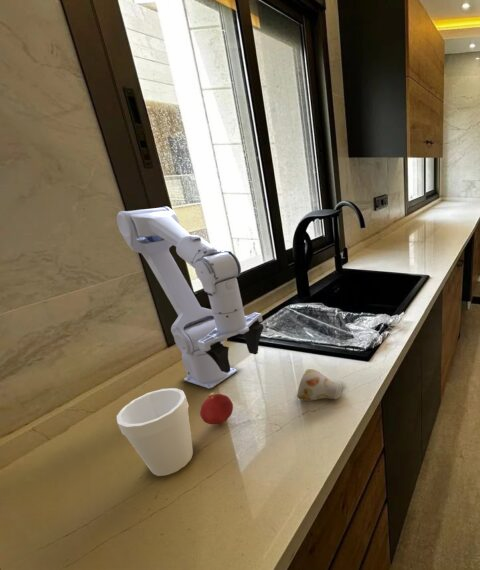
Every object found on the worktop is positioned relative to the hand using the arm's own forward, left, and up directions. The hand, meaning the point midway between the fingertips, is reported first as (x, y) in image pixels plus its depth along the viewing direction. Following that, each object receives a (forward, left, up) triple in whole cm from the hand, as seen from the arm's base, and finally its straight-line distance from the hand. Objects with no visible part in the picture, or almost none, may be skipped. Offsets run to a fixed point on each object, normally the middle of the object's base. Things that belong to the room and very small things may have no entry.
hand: (240, 361), depth 75 cm
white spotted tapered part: (+17, +6, -10) cm, 20 cm away
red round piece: (+2, -9, -10) cm, 13 cm away
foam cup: (+2, -19, -10) cm, 21 cm away
